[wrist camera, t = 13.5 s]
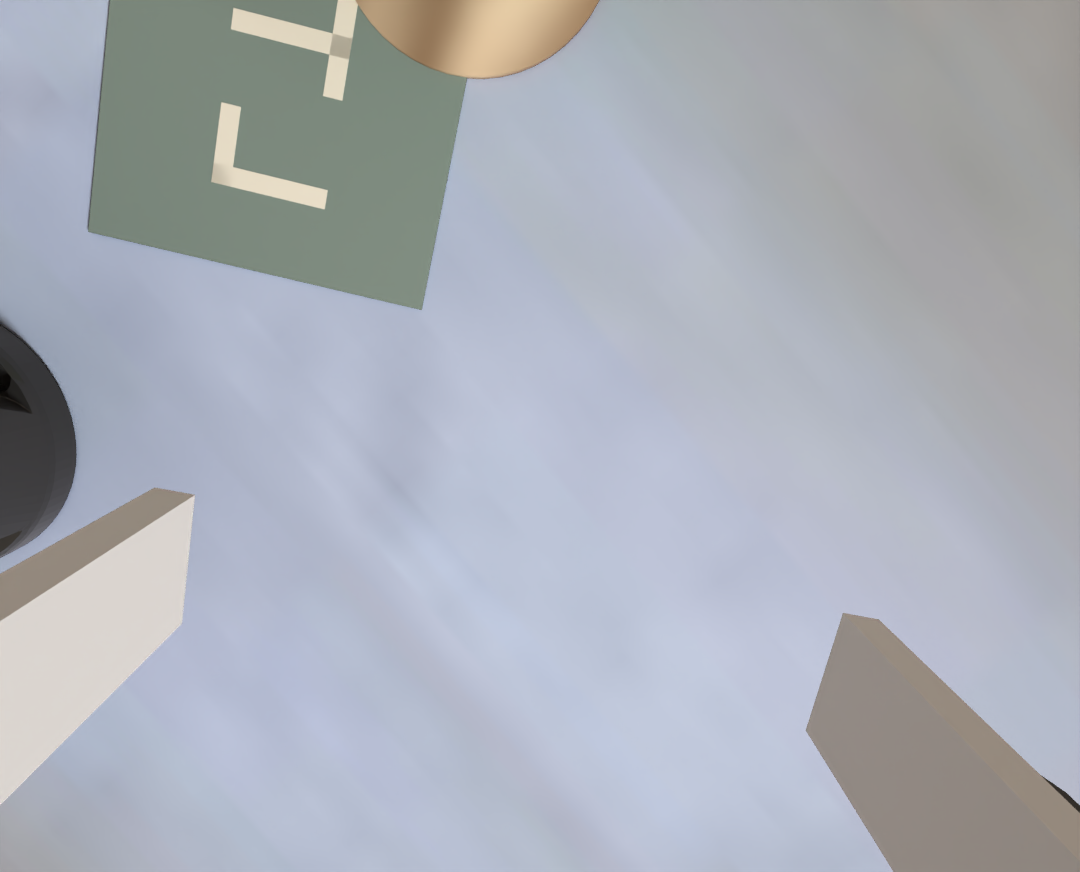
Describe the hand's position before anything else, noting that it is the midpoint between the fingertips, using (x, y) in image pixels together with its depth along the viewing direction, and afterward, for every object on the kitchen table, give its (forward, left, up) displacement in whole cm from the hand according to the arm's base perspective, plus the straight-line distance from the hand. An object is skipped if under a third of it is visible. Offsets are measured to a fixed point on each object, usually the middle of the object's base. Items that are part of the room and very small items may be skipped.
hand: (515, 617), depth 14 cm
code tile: (-15, +13, -26) cm, 33 cm away
